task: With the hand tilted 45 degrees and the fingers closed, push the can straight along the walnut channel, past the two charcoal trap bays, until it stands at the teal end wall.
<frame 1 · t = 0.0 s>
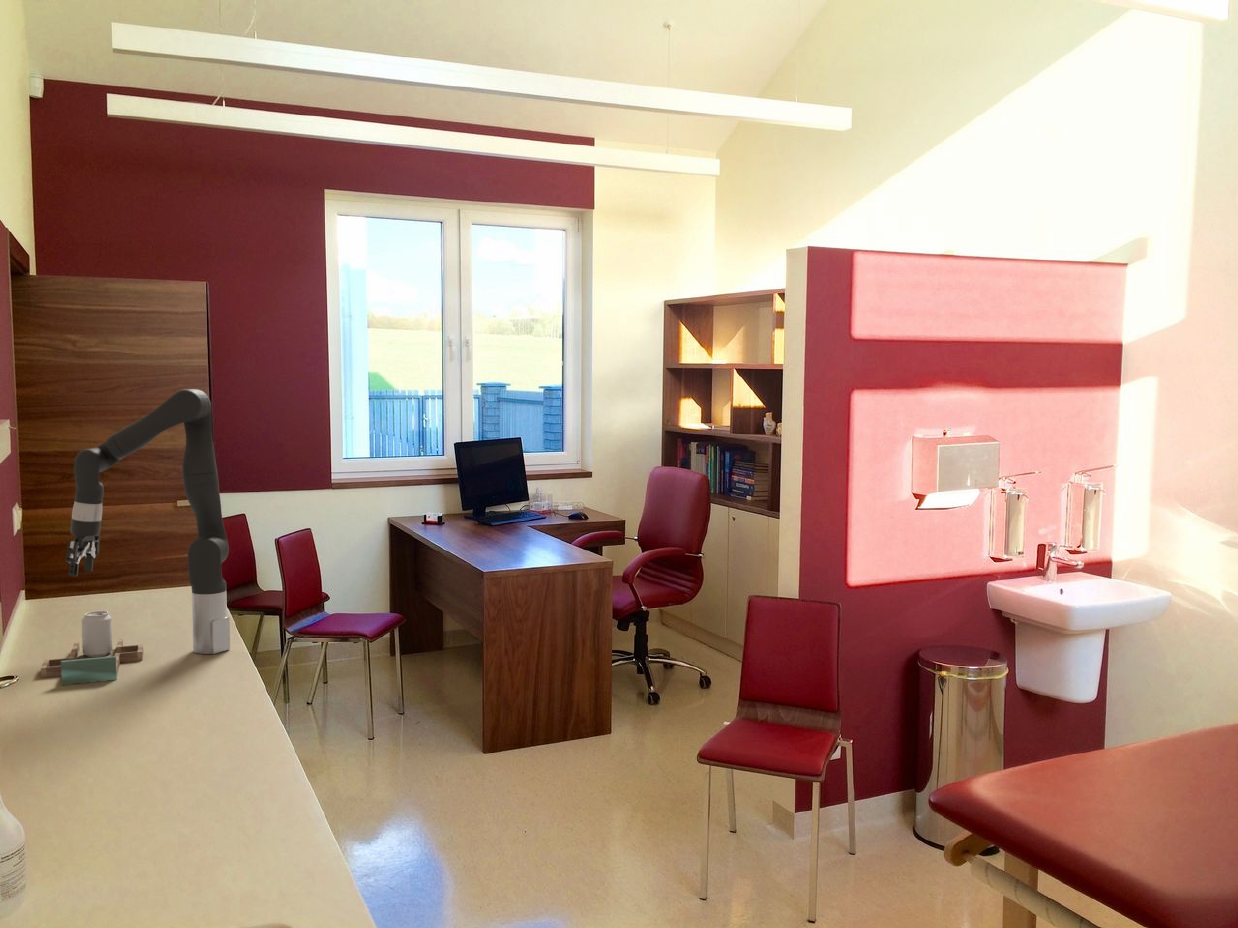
hand: (80, 573, 284), 22 cm above the table, tool pointing down, fingers open, 8 cm apart
can: (97, 654, 282), on the table
trap channel: (94, 664, 272), on the table
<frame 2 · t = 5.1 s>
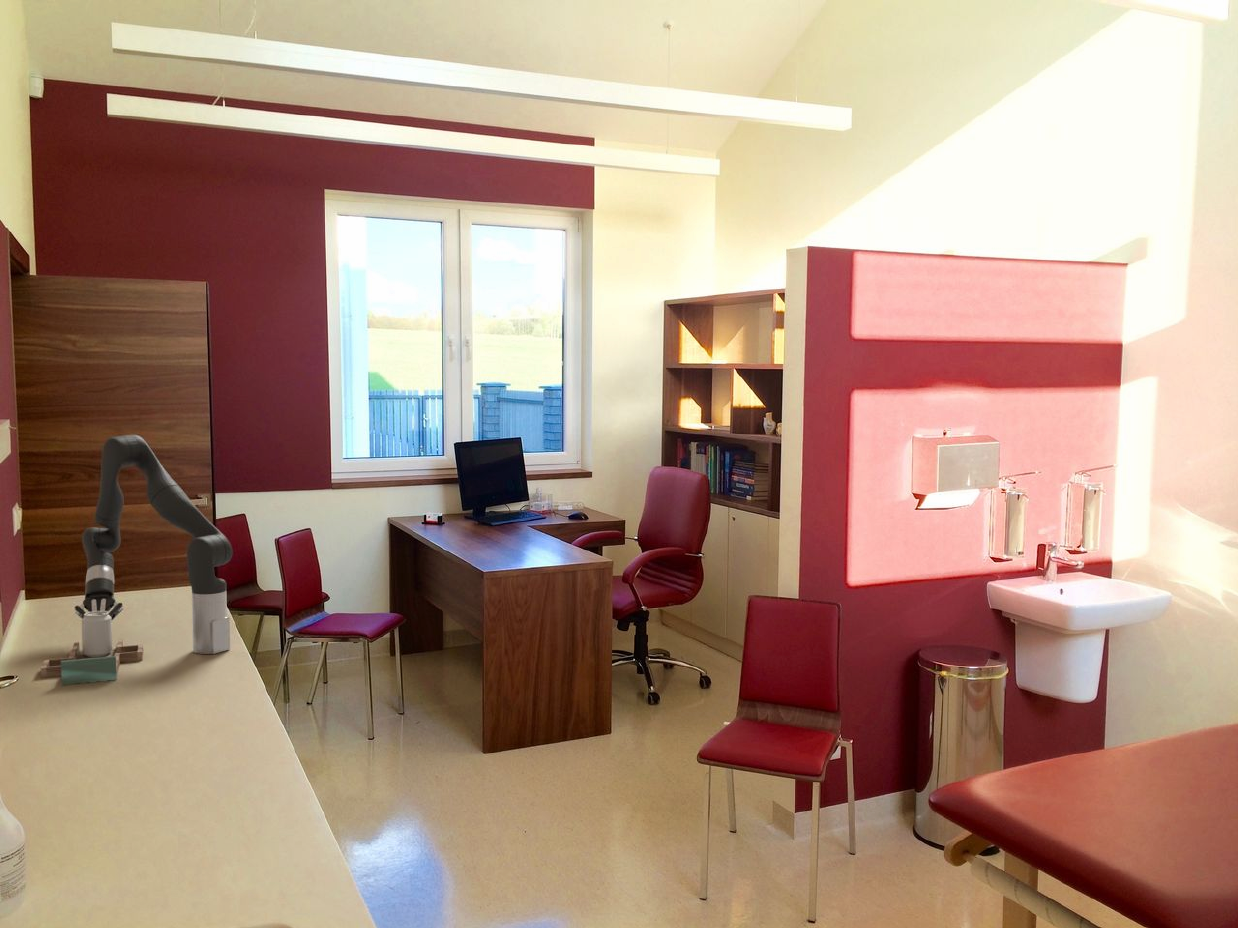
hand: (98, 633, 285), 5 cm above the table, tool tilted 45°, fingers closed
can: (97, 654, 282), on the table, touching gripper
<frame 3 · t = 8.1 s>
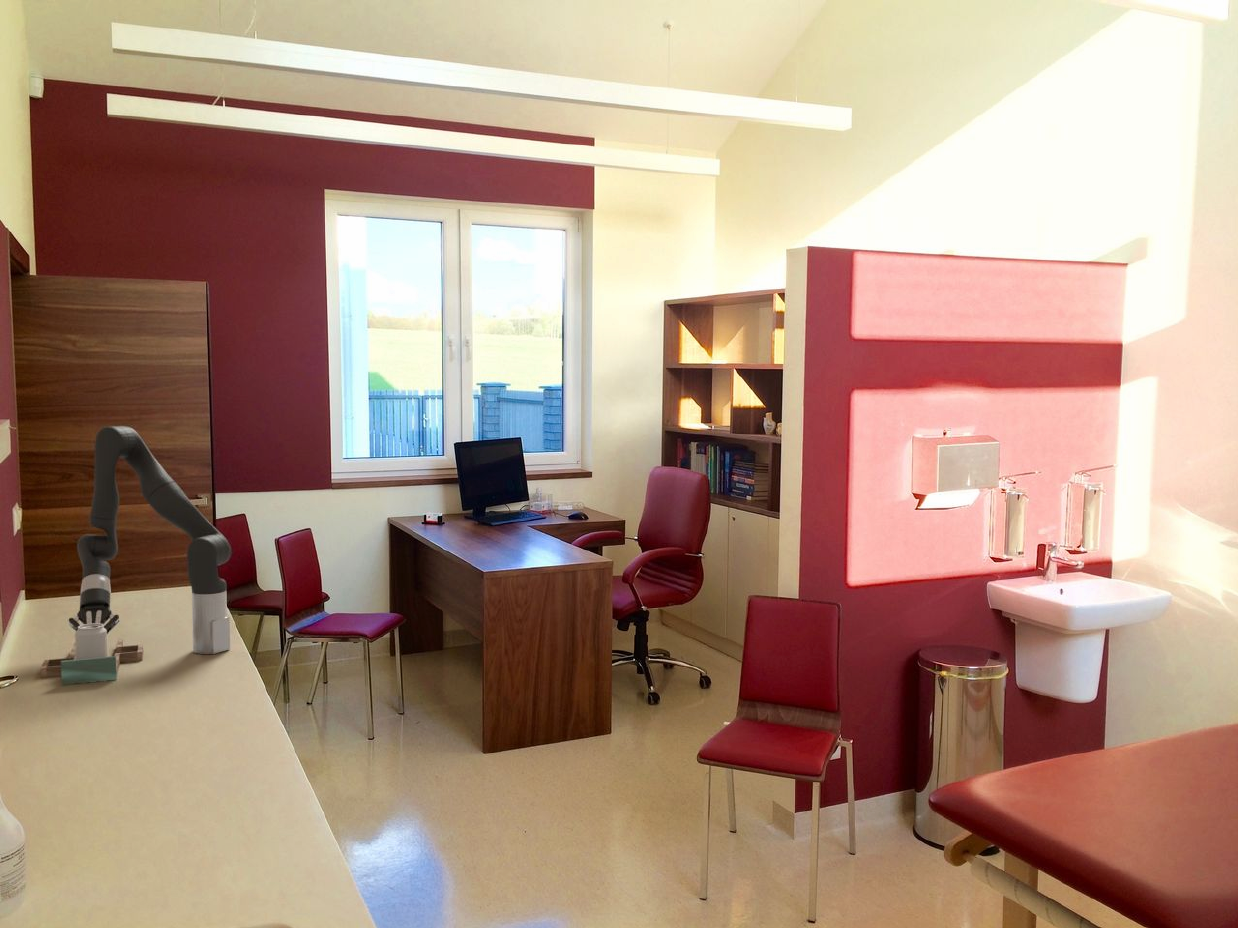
hand: (93, 647, 271), 5 cm above the table, tool tilted 45°, fingers closed
can: (92, 669, 267), on the table, touching gripper
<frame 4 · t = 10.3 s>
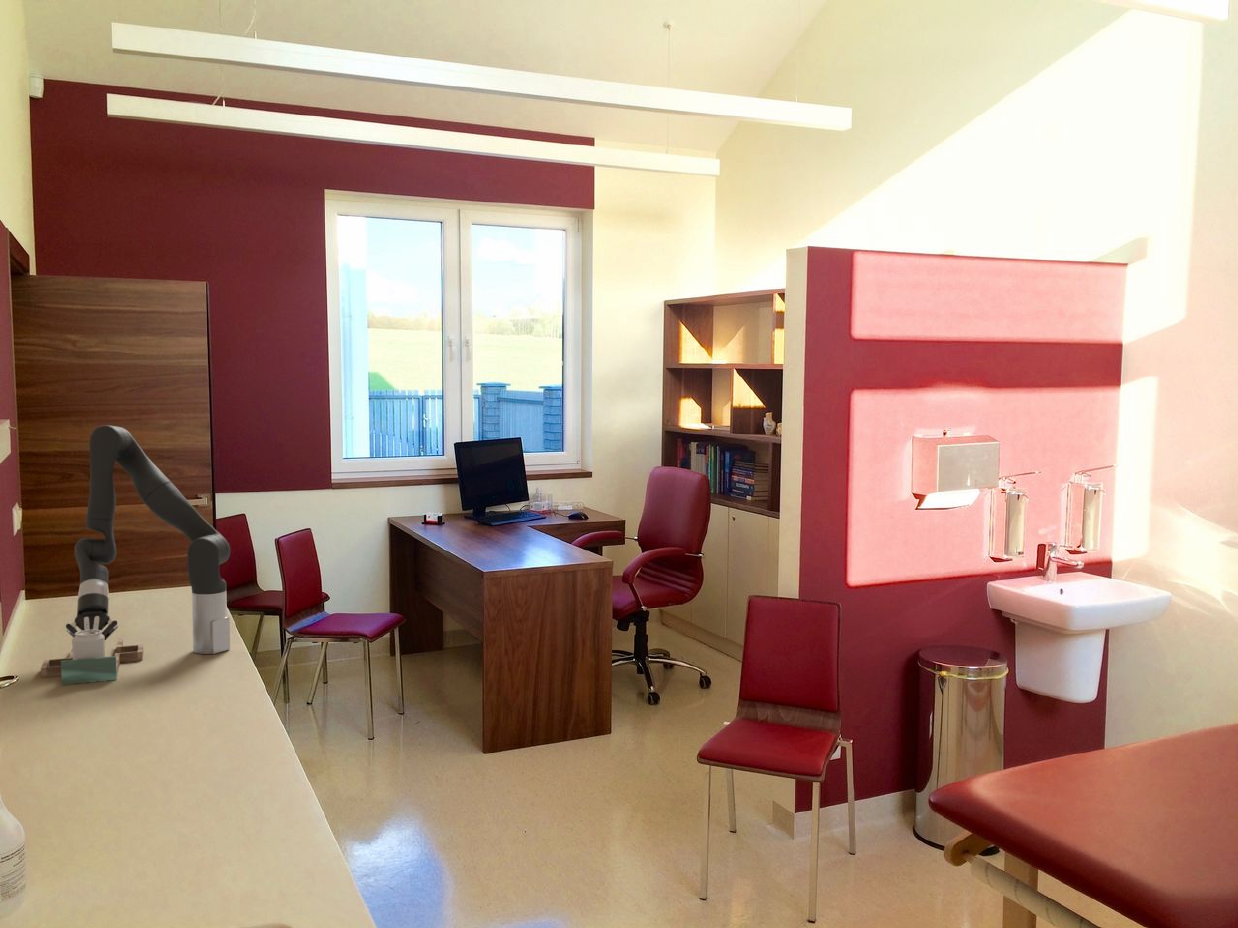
hand: (90, 654, 264), 5 cm above the table, tool tilted 45°, fingers closed
can: (89, 677, 260), on the table, touching gripper
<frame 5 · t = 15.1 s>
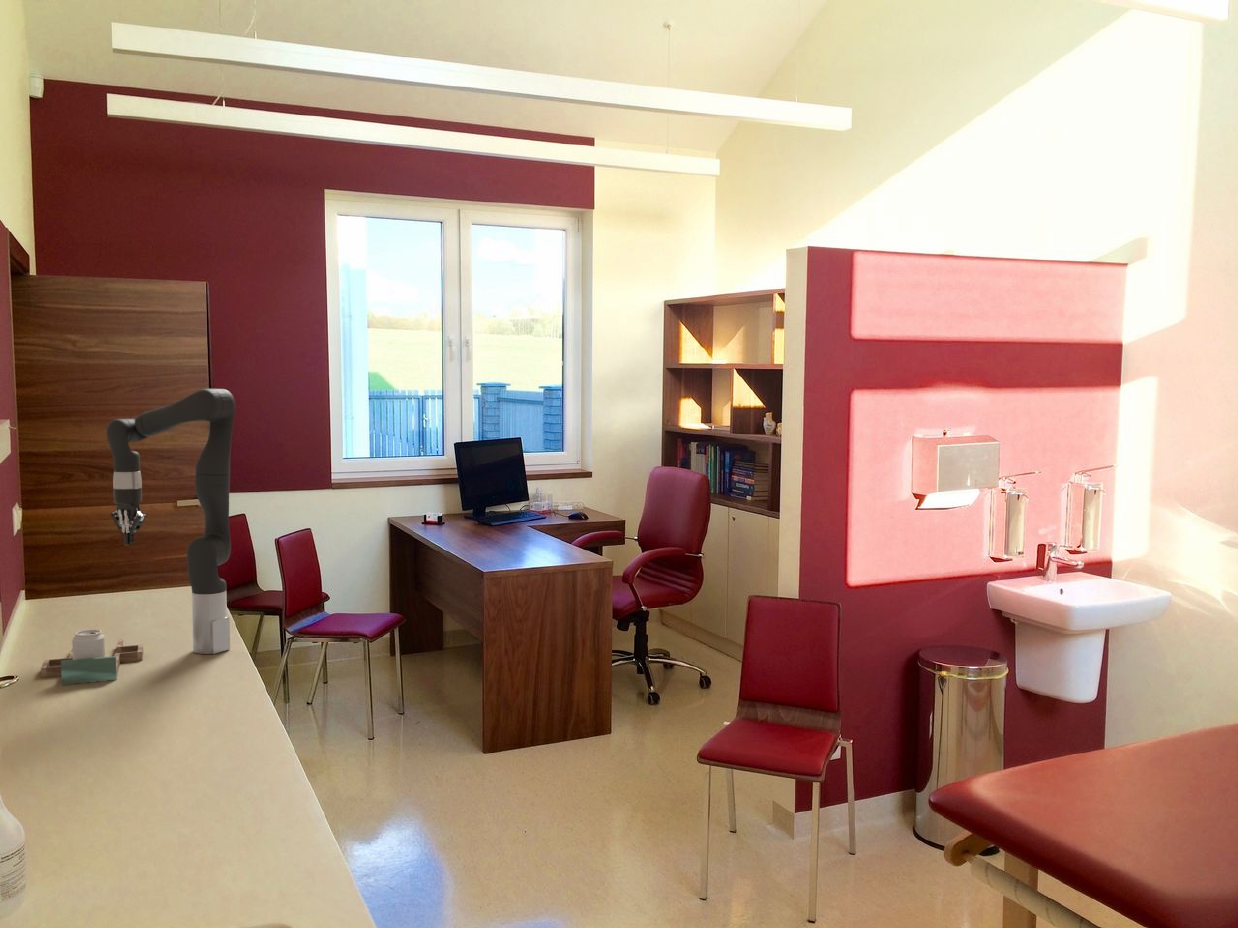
hand: (129, 544, 294), 29 cm above the table, tool pointing down, fingers closed
can: (89, 677, 260), on the table
at the end: can 0.5 cm from the target spot, on the table; can tilted 0°; can moved 23.5 cm from its start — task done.
